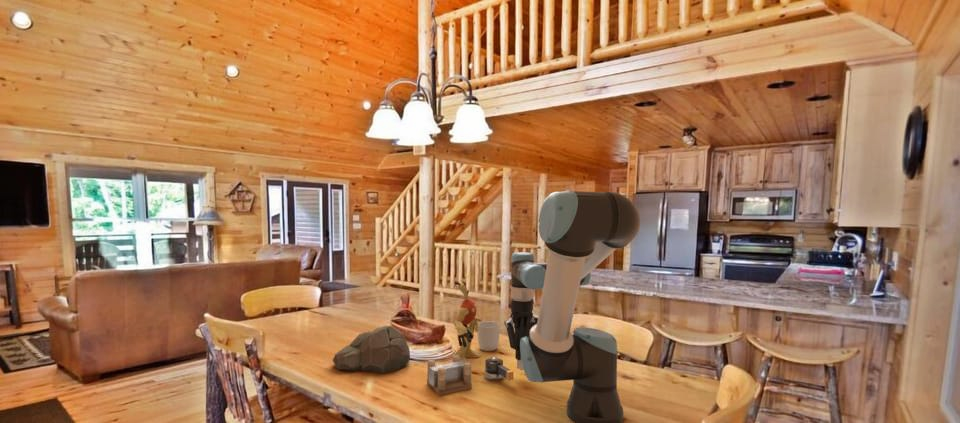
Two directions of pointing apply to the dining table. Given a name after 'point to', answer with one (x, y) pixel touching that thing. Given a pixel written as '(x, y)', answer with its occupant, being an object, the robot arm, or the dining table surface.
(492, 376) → the base
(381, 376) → the dining table surface
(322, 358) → the dining table surface
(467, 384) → the rack
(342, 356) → the decorative rock
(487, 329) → the mug
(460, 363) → the bar
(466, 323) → the toy
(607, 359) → the robot arm
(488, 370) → the dark grey mechanical part
